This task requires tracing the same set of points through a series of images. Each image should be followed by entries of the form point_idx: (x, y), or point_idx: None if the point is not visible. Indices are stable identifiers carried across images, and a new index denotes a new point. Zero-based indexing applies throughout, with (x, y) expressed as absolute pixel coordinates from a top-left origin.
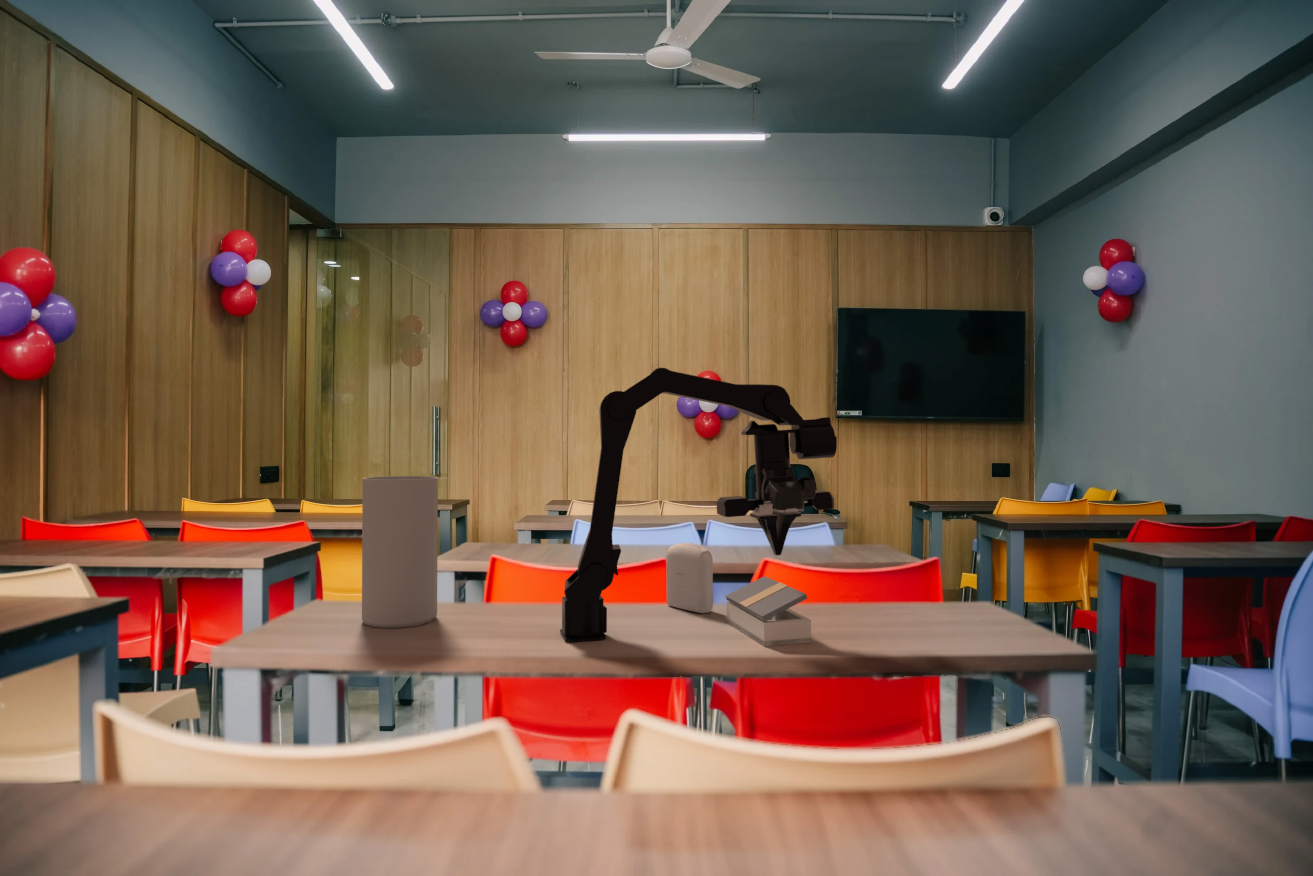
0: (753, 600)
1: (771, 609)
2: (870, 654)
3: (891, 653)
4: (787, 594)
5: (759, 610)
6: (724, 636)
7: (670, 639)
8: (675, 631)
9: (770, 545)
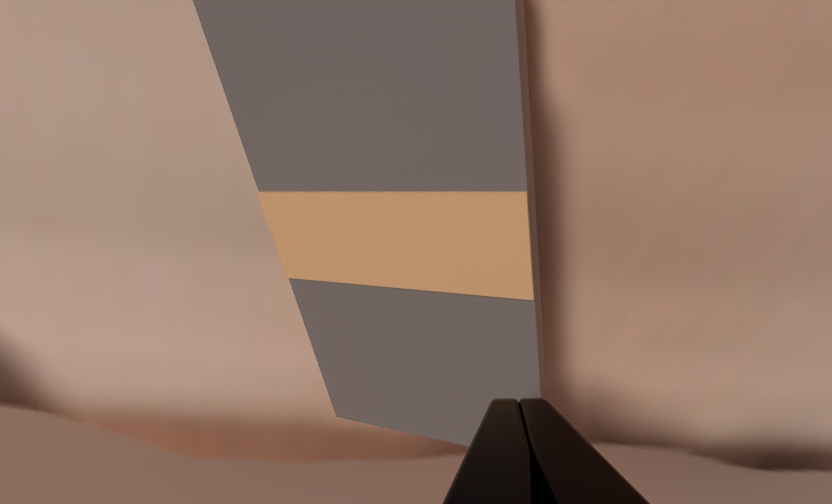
0: (326, 254)
1: (378, 411)
2: (643, 424)
3: (708, 421)
4: (482, 381)
5: (335, 367)
6: (227, 211)
7: (19, 234)
8: (6, 114)
9: (465, 457)
